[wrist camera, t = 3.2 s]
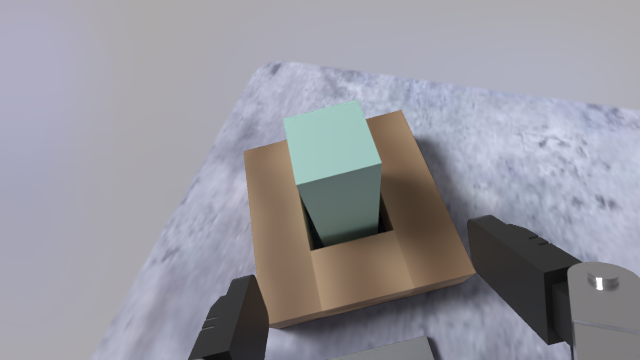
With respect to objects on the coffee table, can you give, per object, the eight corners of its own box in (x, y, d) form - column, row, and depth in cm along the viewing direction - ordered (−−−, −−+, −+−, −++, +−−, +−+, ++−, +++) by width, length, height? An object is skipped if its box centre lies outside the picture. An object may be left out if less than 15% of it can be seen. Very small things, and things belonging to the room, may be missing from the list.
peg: (362, 192, 25) (358, 99, 16) (377, 238, 23) (381, 162, 14) (315, 204, 26) (282, 119, 16) (326, 251, 24) (295, 185, 14)
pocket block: (398, 136, 28) (401, 109, 24) (460, 283, 21) (476, 272, 18) (257, 172, 28) (243, 151, 25) (277, 328, 21) (262, 326, 18)
